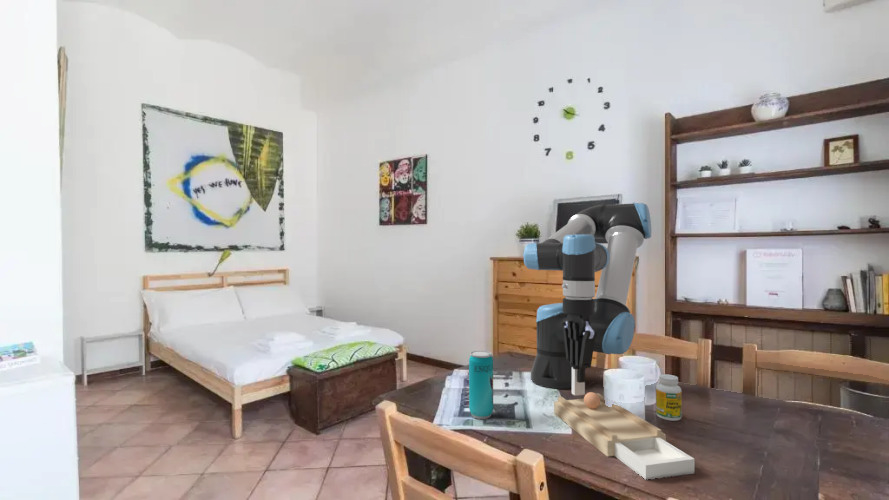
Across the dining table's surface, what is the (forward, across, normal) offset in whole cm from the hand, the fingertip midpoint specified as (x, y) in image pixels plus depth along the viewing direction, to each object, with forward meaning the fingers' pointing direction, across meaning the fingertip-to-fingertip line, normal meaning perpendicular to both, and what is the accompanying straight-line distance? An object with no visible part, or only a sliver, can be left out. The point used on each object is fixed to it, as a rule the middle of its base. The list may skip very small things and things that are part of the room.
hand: (578, 394), depth 107 cm
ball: (0, +6, 0) cm, 6 cm away
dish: (+5, +26, 0) cm, 26 cm away
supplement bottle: (+5, +8, +19) cm, 21 cm away
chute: (+4, +11, 0) cm, 12 cm away
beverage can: (+5, -3, -24) cm, 24 cm away
